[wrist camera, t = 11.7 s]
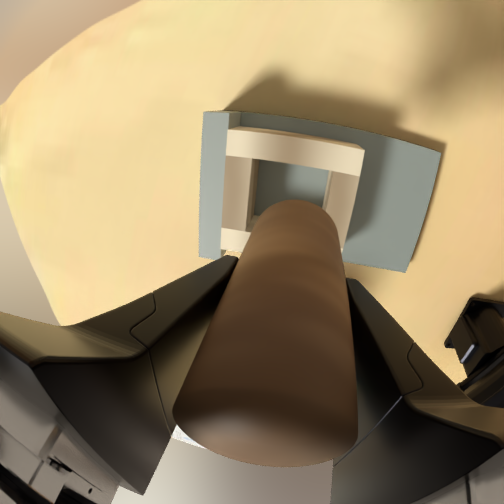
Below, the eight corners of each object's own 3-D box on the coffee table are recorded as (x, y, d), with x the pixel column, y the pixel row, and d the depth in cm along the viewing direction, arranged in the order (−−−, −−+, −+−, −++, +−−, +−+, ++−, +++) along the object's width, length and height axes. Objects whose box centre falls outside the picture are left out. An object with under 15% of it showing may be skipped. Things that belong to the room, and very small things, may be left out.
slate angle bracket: (435, 150, 17) (459, 161, 14) (402, 266, 22) (414, 294, 19) (222, 110, 19) (203, 111, 16) (215, 233, 24) (198, 256, 21)
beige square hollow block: (356, 144, 17) (364, 150, 15) (334, 248, 21) (337, 269, 19) (239, 126, 18) (227, 129, 16) (231, 231, 22) (220, 249, 20)
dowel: (347, 208, 10) (392, 403, 3) (327, 283, 12) (324, 472, 5) (257, 192, 11) (160, 362, 4) (248, 269, 12) (180, 446, 5)
